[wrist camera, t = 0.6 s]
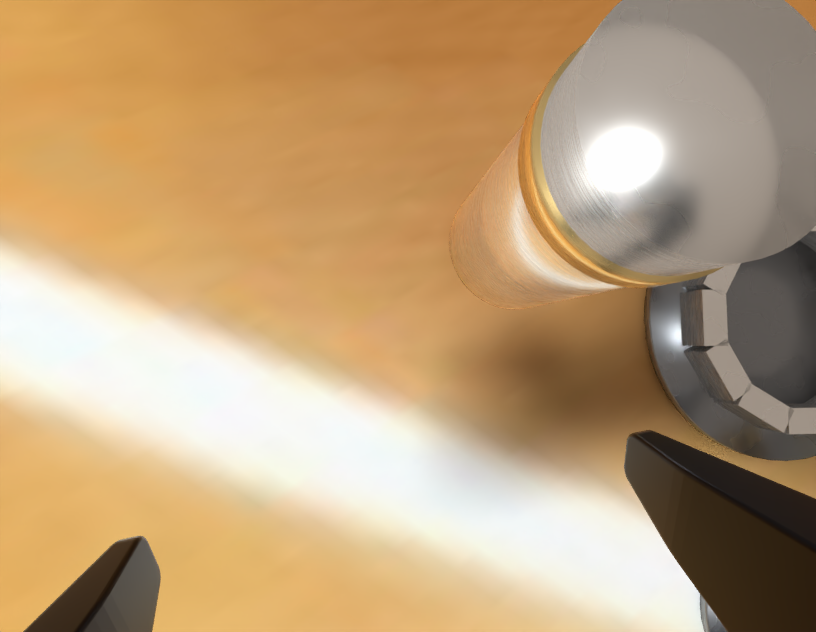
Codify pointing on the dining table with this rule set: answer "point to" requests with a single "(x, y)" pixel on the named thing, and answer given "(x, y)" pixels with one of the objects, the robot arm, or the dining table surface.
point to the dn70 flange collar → (742, 352)
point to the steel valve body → (651, 157)
